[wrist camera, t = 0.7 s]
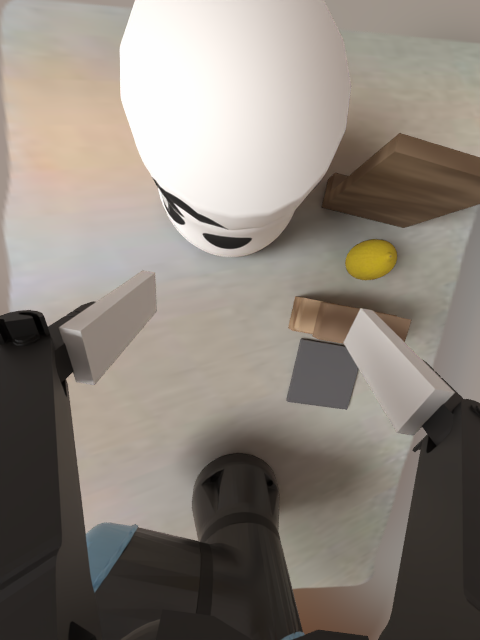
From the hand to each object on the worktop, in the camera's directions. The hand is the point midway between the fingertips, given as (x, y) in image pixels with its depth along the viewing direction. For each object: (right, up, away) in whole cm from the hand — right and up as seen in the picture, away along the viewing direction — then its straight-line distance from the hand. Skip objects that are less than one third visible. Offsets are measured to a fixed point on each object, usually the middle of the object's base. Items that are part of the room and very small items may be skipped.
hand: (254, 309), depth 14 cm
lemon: (+17, +8, +21) cm, 28 cm away
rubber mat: (+13, -10, +23) cm, 29 cm away
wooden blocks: (+17, +8, +21) cm, 28 cm away
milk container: (-3, +17, +18) cm, 25 cm away
